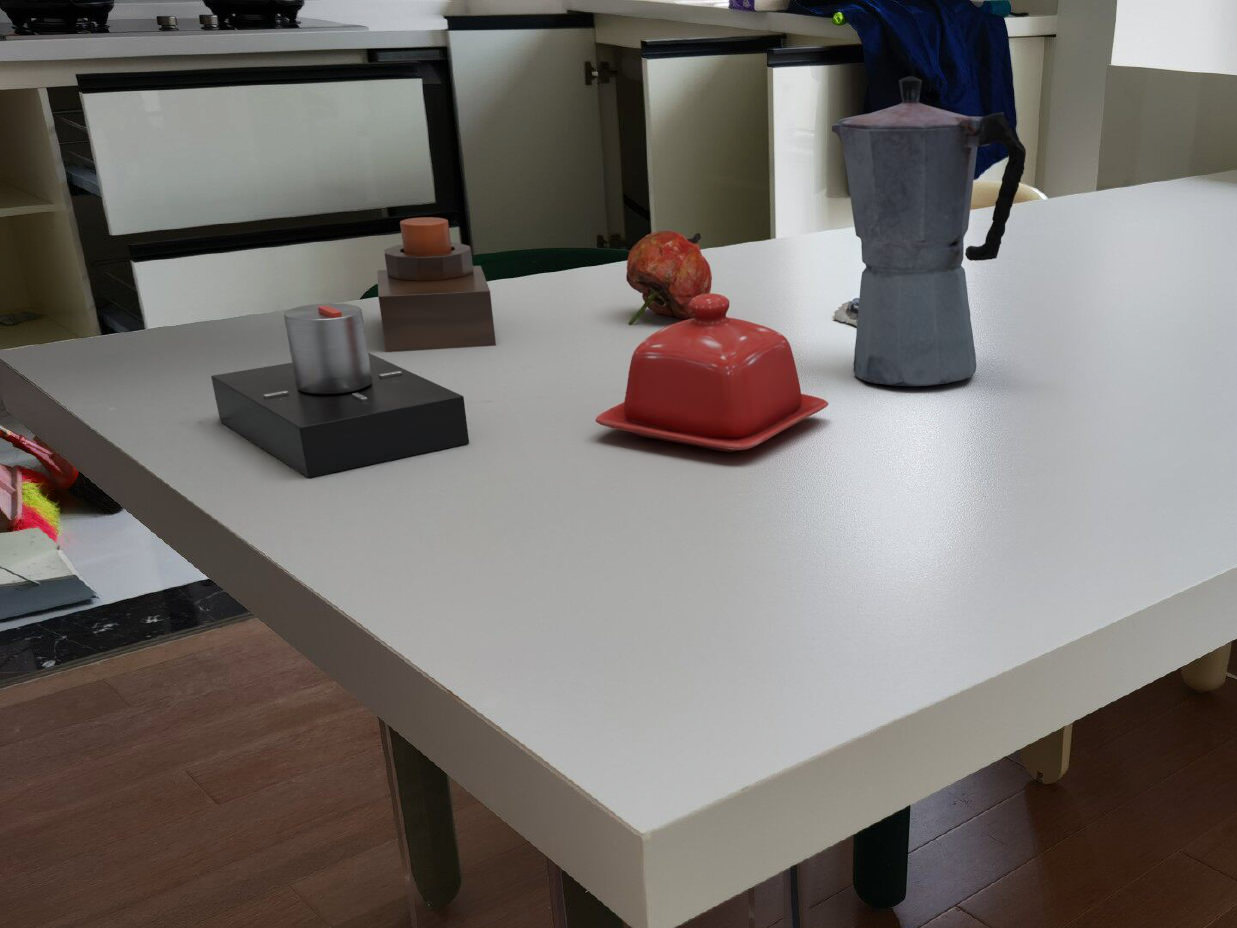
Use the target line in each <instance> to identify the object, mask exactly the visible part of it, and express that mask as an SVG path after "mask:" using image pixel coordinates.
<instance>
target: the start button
mask: <svg viewBox="0 0 1237 928" xmlns="http://www.w3.org/2000/svg"><path fill="white" fill-rule="evenodd" d="M399 226H400V233H401V241H402V245H403V249H404V253H406V254H418V255H424V254H440V253H447V252H451V251H452V250H451V243H452V242H451V241H452V240H451V234H450V233H451V232H450V225H449V220H448V219H447V218H443V217H432V216H430V217H411V218H406V219H403V220H400V222H399Z"/></svg>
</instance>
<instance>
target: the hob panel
mask: <svg viewBox="0 0 1237 928" xmlns="http://www.w3.org/2000/svg"><path fill="white" fill-rule="evenodd" d="M368 356H369V362H370V369H371V375H372V383H371V384H370V385H369V386H368V387H366V388H363V389H360V390H357V391H352V392H347V393H340V394H311V393H306V392H302V391H300V390H298V389H297V387H296V382H295V376H294V370H293V365H292V362H288V363H287V362H286V363H282V364H275V365H268V366H263V367H256V368H250V369H245V370H237V371H233V372H226V373H219V374H214V375H213V374H212V375H211V376H210V378H211V383H212V388H213V393H214V399H215V403H216V407H217V408H216V409H217V412H218V417H219V422H220V423H221V424H223V425H225V426H226V427H228V428H229V429H231V430H233V431H235V432H236V433H237V434H239V435H241V436H242V437H243V438H245V439H247V440H248V441H250V442H252V443H253V444H255V445H256V446H258V447H259V448H260V449H262V450H264V451H265V452H267V453H269V454H270V455H272V456H273V457H275V458H276V459H278V460H279V461H281V462H283V463H284V464H286V465H287V466H289V467H290V468H292V469H294V470H295V471H297V472H299V473H300V474H302V475H304V477H306V478H308V479H310V478H315V477H316V478H317V477H319V476H320V477H321V476H325V475H329V474H333V473H338V472H344V471H348V470H352V469H357V468H361V467H367V466H370V465H377V464H379V463H385V462H390V461H394V460H398V459H399V460H400V459H403V458H409V457H412V456H417V455H418V456H419V455H422V454H427V453H432V452H437V451H441V450H444V449H445V450H446V449H451V448H456V447H459V446H460V447H461V446H465V445H468V444H470V438H469V430H468V422H467V414H466V405H465V397H464V395H462V394H460V393H458V392H455V391H453V390H451V389H449V388H447V387H444V386H442V385H440V384H438V383H435V382H434V381H432V380H429V379H427V378H425V377H422V376H420V375H418V374H416V373H414V372H412V371H409V370H407V369H406V368H403V367H401V366H398V365H396V364H394V363H393V362H390V361H388V360H385V359H383V358H381V357H378V356H377V355H374V354H373V353H370V352H368Z"/></svg>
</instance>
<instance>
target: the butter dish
mask: <svg viewBox="0 0 1237 928" xmlns="http://www.w3.org/2000/svg"><path fill="white" fill-rule="evenodd" d="M689 308H690V309H691V310H692V311H693V312H694V315H693V317H694V318H688V319H684V320H682V321H679V322H678V321H677V322H675V323H673V324H670V325H668V326H665V327H663V328H661V329H659V330H657V331H656V332H654V333H652V334H651V335H649V336H647V337H646V338H644V340H643V341H642V342H640V344H639V345H637V347H636V348H635V349H634V351H633V353H632V355H631V360H630V364H629V368H628V376H627V382H626V391H625V397H624V401H623V402H621V403H619V404H617V405H615V406H612V407H611V408H609V409H607V410H605V411H604V412H602V413H600V414H599V415H597V416H596V418H595V423H597V424H599V425H601V426H602V427H603V426H604V427H607V428H609V429H613V430H618V431H624V432H629V433H632V434H633V433H634V434H636V435H637V436H638V437H639V436H640V437H644V438H649V439H655V440H660V441H665V442H672V443H677V444H682V445H686V446H687V445H688V446H694V447H698V448H704V449H709V450H714V451H719V452H726V453H734V452H737V451H745V450H748V449H749V450H750V449H752V448H755V447H757V446H758V445H761V444H762V443H764V442H765V441H767V440H769V439H770V438H772V437H774V436H777V435H778V434H779V433H781V432H783V431H784V430H786V429H789V428H790V427H792V426H794V425H796V424H797V423H799V422H801V421H804V420H805V419H807V418H808V417H811V416H814V415H815V414H817V413H819V412H821V411H822V410H824V409H825V408H827V407H828V405H829V402H828V401H827V400H826V399H823V398H820V397H817V396H813V395H809V394H805V393H802V390H801V384H800V380H799V374H798V370H797V366H796V363H795V362H796V361H795V357H794V353H793V350H792V347H791V344H790V342H789V340H788V338H786V336H785V335H783V334H782V333H780V332H779V331H776V330H775V329H772V328H770V327H768V326H764V325H762V324H759V323H755V322H753V321H749V320H745V319H741V318H740V319H739V318H734V317H728V316H727V313H728V311H729V308H730V299H729V298H727V296H725V295H722V294H719V293H711V292H710V293H708V294H702V295H699V296H696V297H694V298H693V299H692V300H691V301H690V302H689Z"/></svg>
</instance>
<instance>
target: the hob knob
mask: <svg viewBox="0 0 1237 928" xmlns="http://www.w3.org/2000/svg"><path fill="white" fill-rule="evenodd" d="M283 319H284V323H285V324H284V325H285V331H286V336H287V341H288V346H289V347H288V348H289V353H290V358H291V363H292V365H293V370H294V376H295V382H296V387H297V389H298V390H300V391H302V392H306V393H311V394H340V393H347V392H352V391H357V390H360V389H363V388H366V387H368V386H369V385H370V384H371V383H372V375H371V369H370V362H369V356H368V353H369V350H368V343H367V336H366V330H365V329H366V328H365V322H364V316H363V311H362V308H361V307H360V306H357V305H354V304H349V303H337V302H336V303H335V302H334V303H332V302H331V303H329V302H328V303H327V302H326V303H314V304H307V305H306V304H305V305H301V306H297V307H293V308H290V309H288V310H286V311H284V313H283Z"/></svg>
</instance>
